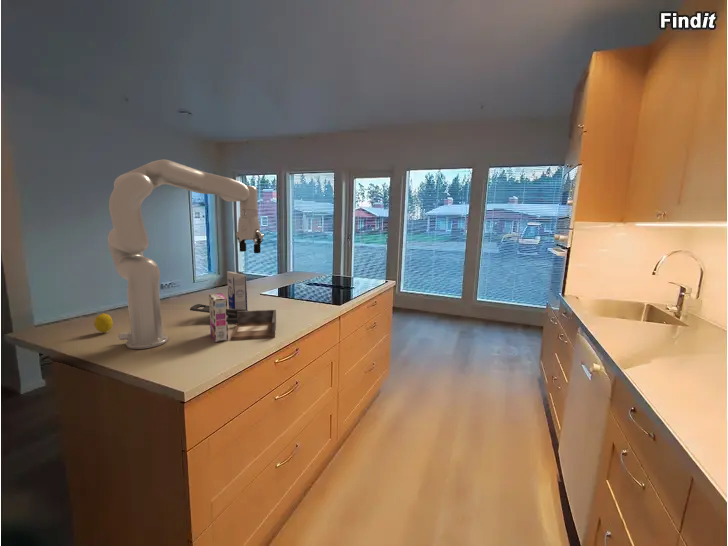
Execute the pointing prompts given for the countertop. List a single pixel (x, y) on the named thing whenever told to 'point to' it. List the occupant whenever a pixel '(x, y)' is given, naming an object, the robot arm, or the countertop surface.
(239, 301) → the milk carton
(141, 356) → the countertop surface
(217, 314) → the candy bar box
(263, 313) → the brown square tray
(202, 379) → the countertop surface
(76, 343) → the countertop surface
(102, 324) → the lemon
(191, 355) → the countertop surface
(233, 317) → the dark grey spatula
